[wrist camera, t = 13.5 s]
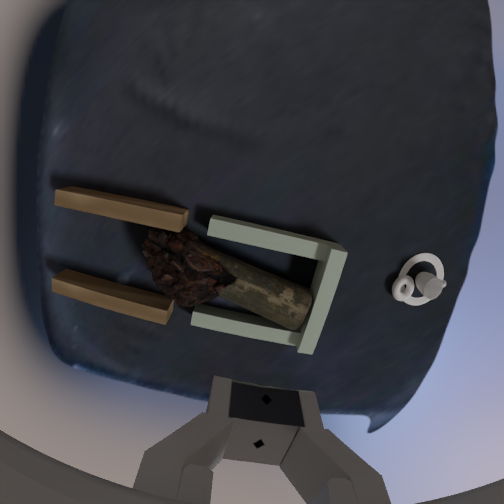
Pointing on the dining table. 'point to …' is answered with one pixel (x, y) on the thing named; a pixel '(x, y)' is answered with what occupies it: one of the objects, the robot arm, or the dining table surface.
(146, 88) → the dining table surface
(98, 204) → the oak channel
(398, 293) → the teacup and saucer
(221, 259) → the dark piece
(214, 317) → the frame
